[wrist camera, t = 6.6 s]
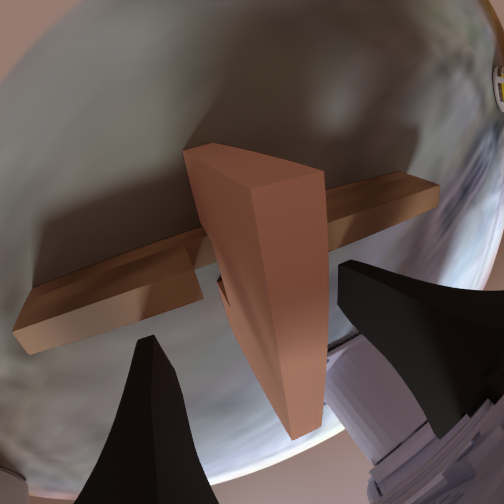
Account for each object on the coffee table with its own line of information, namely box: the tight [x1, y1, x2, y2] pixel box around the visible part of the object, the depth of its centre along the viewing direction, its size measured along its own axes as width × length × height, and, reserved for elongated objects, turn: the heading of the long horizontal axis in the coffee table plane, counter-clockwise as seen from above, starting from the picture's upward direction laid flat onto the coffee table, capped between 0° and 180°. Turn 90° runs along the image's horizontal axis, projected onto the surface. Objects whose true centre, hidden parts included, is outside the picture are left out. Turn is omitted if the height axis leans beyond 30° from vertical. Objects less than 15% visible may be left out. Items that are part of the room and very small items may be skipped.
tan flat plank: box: [182, 143, 329, 441], centre depth 9 cm, size 9×1×7 cm, turn 9°
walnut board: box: [12, 172, 440, 355], centre depth 10 cm, size 20×1×3 cm, turn 99°
